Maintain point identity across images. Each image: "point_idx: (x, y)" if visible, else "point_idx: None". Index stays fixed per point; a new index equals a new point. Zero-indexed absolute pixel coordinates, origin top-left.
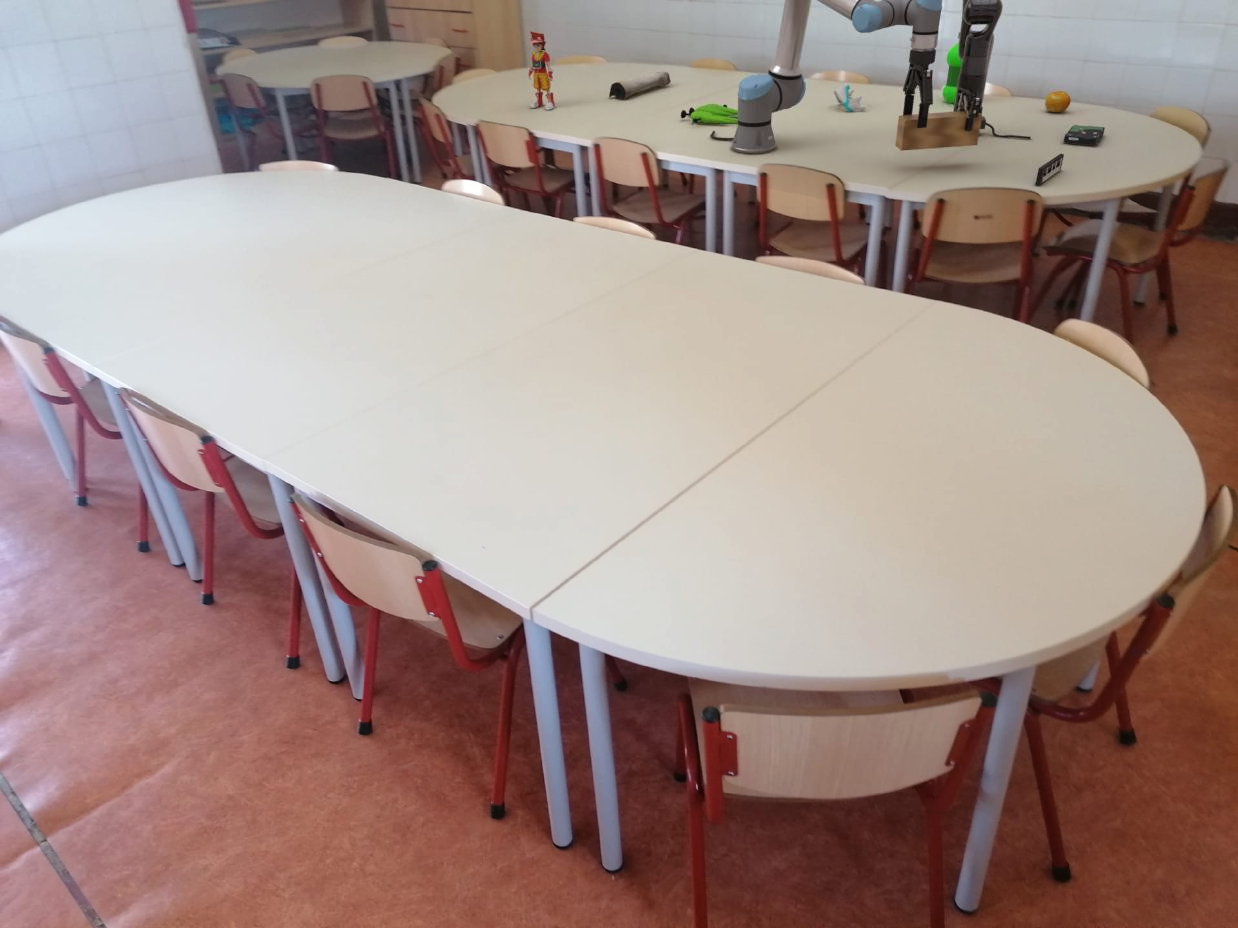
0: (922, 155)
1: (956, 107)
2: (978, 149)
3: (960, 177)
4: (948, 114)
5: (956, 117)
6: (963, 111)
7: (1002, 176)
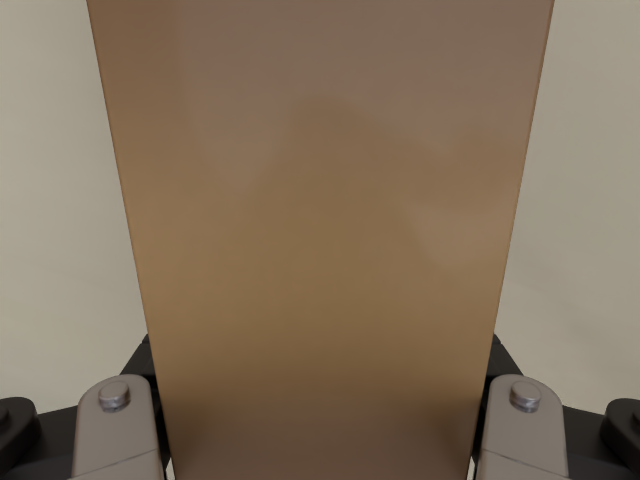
0: (586, 67)
1: (637, 421)
2: (548, 385)
3: (93, 136)
4: (329, 151)
5: (133, 237)
6: (441, 444)
7: (104, 336)
